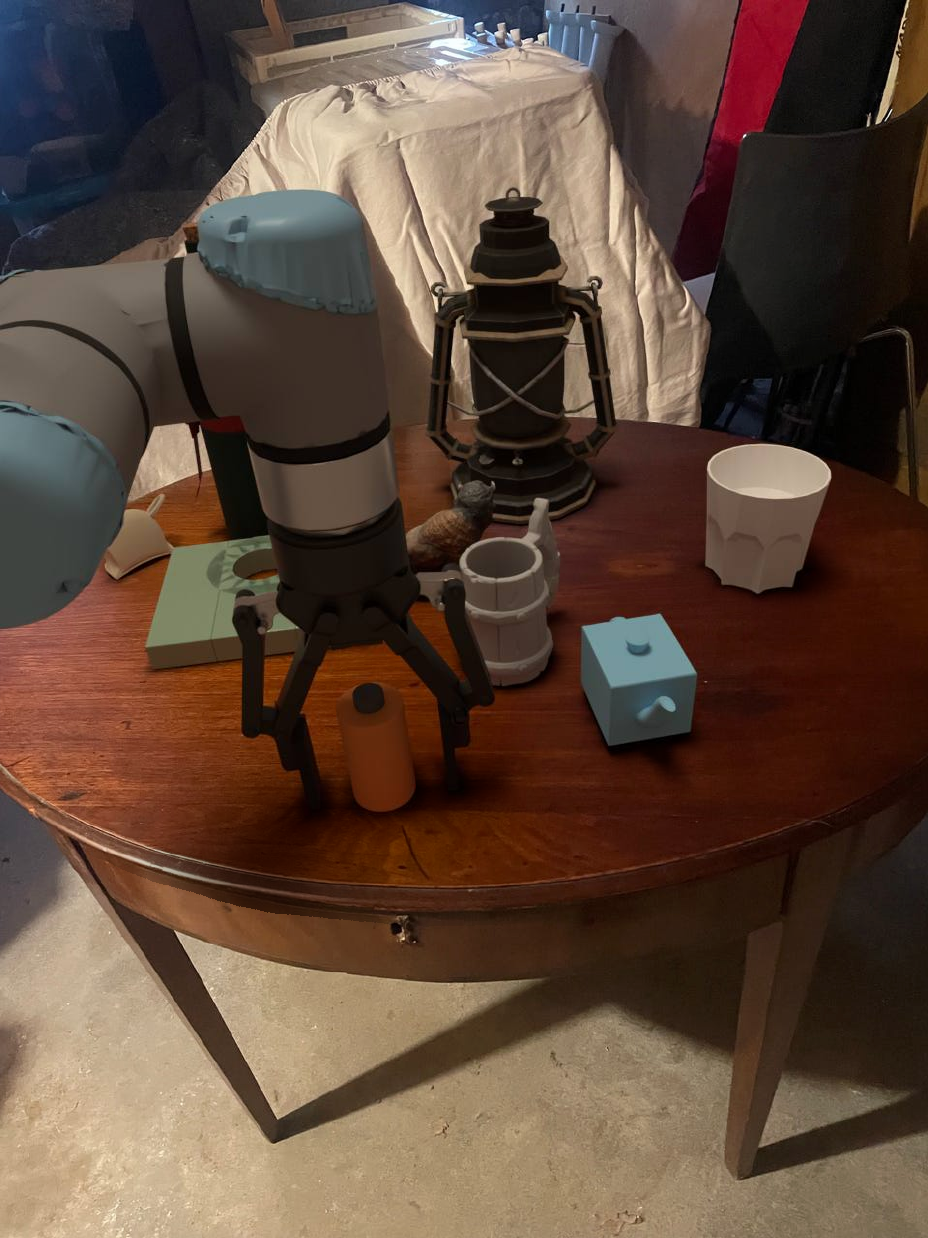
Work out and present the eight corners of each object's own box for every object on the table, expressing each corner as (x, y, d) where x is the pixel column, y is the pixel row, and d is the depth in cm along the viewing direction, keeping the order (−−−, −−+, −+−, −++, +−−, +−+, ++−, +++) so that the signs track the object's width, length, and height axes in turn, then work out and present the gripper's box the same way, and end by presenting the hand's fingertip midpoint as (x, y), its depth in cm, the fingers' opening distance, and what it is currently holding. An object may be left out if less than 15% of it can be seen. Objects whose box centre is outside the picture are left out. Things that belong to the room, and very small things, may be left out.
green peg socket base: (152, 670, 74) (144, 647, 73) (179, 567, 87) (173, 546, 86) (364, 643, 75) (359, 620, 74) (359, 546, 88) (356, 524, 87)
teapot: (707, 774, 61) (719, 693, 56) (622, 790, 60) (627, 708, 56) (648, 667, 70) (654, 589, 66) (575, 679, 70) (576, 602, 65)
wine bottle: (209, 517, 95) (126, 221, 77) (303, 505, 96) (242, 209, 78) (201, 555, 89) (110, 243, 71) (302, 542, 90) (236, 229, 72)
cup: (833, 586, 77) (855, 486, 71) (727, 607, 76) (741, 507, 70) (775, 531, 85) (791, 436, 79) (679, 549, 84) (688, 454, 78)
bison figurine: (369, 607, 79) (353, 510, 73) (375, 565, 85) (360, 472, 79) (501, 599, 79) (496, 501, 73) (498, 557, 85) (493, 463, 79)
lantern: (422, 527, 90) (387, 214, 72) (439, 457, 103) (413, 176, 85) (619, 524, 88) (633, 201, 70) (612, 453, 101) (623, 164, 83)
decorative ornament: (97, 566, 89) (79, 520, 85) (171, 533, 93) (157, 488, 90) (114, 581, 86) (97, 534, 83) (190, 546, 90) (176, 501, 87)
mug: (440, 669, 72) (427, 544, 65) (518, 597, 79) (514, 478, 72) (519, 701, 68) (514, 573, 61) (593, 622, 75) (596, 499, 68)
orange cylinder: (353, 816, 60) (333, 720, 54) (352, 769, 63) (333, 675, 58) (417, 807, 60) (403, 710, 55) (413, 761, 64) (399, 666, 58)
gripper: (515, 451, 52) (526, 728, 65) (145, 495, 51) (233, 768, 64) (539, 513, 46) (545, 805, 59) (120, 564, 45) (223, 850, 58)
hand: (383, 785), depth 62 cm, fingers open, 9 cm apart
